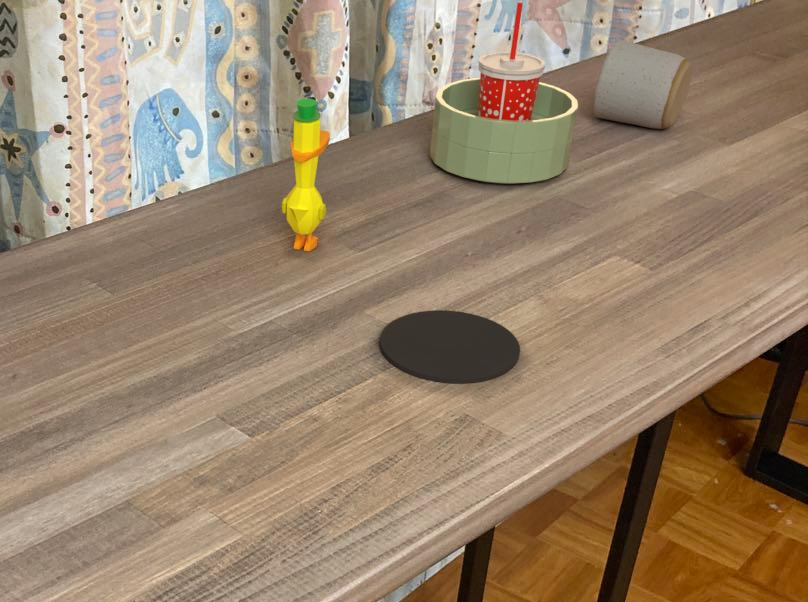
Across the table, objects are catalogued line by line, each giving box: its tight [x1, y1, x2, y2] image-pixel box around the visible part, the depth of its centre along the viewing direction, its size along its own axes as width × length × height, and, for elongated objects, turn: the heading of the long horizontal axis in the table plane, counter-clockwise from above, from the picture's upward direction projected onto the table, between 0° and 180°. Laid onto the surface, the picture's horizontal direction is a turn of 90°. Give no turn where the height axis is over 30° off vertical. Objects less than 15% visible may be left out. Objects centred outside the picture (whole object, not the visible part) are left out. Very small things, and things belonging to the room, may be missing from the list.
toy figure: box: [281, 98, 331, 252], centre depth 91 cm, size 7×4×12 cm, turn 159°
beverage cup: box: [477, 1, 546, 121], centre depth 105 cm, size 6×6×14 cm
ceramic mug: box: [592, 39, 693, 130], centre depth 118 cm, size 11×8×8 cm
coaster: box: [379, 309, 521, 384], centre depth 81 cm, size 10×10×1 cm
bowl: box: [429, 77, 579, 185], centre depth 108 cm, size 13×13×6 cm
